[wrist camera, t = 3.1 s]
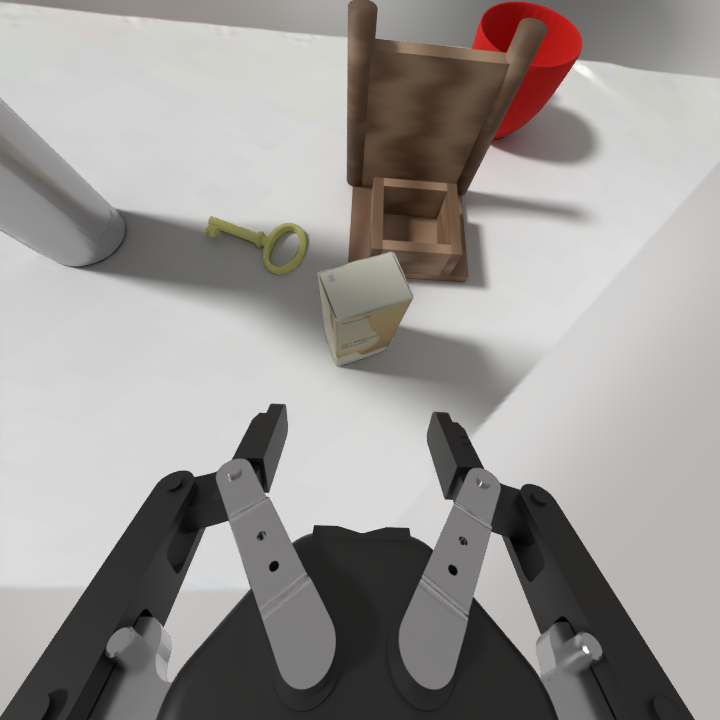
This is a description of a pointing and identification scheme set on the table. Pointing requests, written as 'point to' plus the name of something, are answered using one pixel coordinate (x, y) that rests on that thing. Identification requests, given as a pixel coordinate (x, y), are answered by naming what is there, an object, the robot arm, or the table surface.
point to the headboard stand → (422, 139)
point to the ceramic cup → (547, 64)
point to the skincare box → (363, 306)
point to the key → (263, 241)
